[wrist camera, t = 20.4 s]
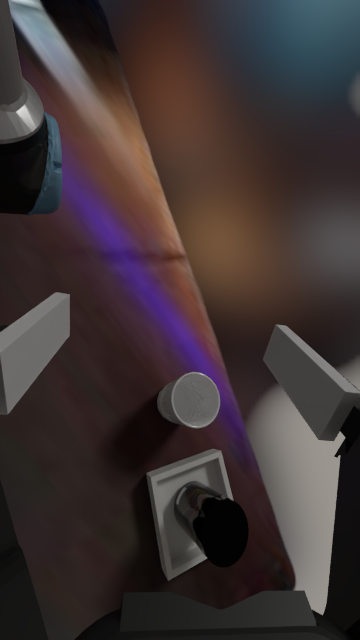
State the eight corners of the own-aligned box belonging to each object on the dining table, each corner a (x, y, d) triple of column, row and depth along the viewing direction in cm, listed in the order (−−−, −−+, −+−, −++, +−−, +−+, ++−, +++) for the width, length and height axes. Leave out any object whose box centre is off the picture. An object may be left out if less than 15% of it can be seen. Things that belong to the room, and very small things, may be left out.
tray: (161, 568, 35) (168, 580, 33) (146, 473, 39) (150, 477, 36) (232, 529, 40) (242, 537, 38) (212, 448, 44) (221, 450, 41)
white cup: (160, 374, 45) (179, 365, 37) (197, 387, 47) (224, 381, 38) (147, 418, 42) (164, 419, 33) (188, 430, 43) (214, 434, 35)
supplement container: (199, 538, 38) (237, 578, 29) (164, 518, 37) (191, 552, 28) (216, 491, 41) (255, 513, 32) (184, 471, 40) (214, 488, 31)
